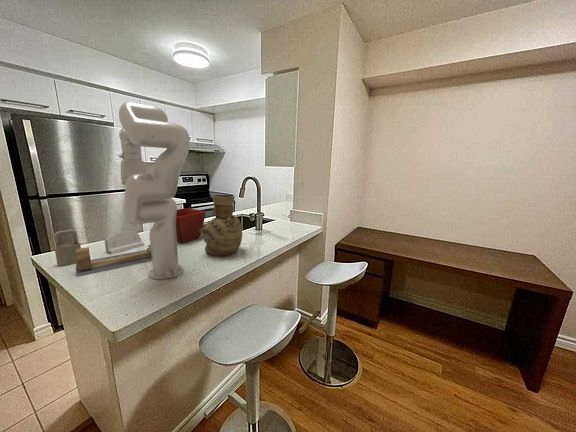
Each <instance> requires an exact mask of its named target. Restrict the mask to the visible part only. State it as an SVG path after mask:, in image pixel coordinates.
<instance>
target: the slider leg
mask: <svg viewBox="0 0 576 432" xmlns="http://www.w3.org/2000/svg"><path fill="white" fill-rule="evenodd" d="M76 254H77V260H78V266H79V271H81V270H86V269H91V268H92V265H91V260H92V259H91V252H90V247H87V246H86V247H81V248H80V249H76Z"/></svg>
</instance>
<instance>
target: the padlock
mask: <svg viewBox="0 0 576 432" xmlns="http://www.w3.org/2000/svg"><path fill="white" fill-rule="evenodd" d="M65 234H72V239H73V242H72V243H67V244H61V245H60V235H65ZM53 239H54V242H55V245H57V246H54V247H53V248H54V253H55V259H56V263H57V266H58V267H63V266H68V265H73V264H76V263H77V262H78V260H77V254H76V249H80V248H82V246H81V243H80V242H79V239H78V232H77V230H74V229H66V230H61V231H60V230H59V231H56V232H55V233H54V235H53Z"/></svg>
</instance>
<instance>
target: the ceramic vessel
mask: <svg viewBox="0 0 576 432" xmlns="http://www.w3.org/2000/svg"><path fill="white" fill-rule="evenodd" d="M234 200H235V195H233V194H213V195H212V202H213V205H214V207H213V211H212V216H214V218H212V219H211V220H209V221H208V222H207V223H206V225H205V226H203V227H202V228H200V229H199V232H200V237H199V238H200V239H204V242H205V246H204V247H205V248H204V251H205V253H206V254H208V255H210V256H214V257H218V258H224V257H225V258H226V257H230V256H234V255H235V254H236V253H238V251H239V249H240V247H241V244H242V240H243V227H242V223H241V220H240V219H239V218H238V217H236V216H235V215H234V214H233V213H234V209H235V208H234V205H233V204H234Z"/></svg>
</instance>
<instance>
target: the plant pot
mask: <svg viewBox="0 0 576 432" xmlns="http://www.w3.org/2000/svg"><path fill="white" fill-rule="evenodd" d="M205 218H206V210H200V209H194V208H193V209H192V208H188V207H186V208H185V207H184V208H179V209H178V208H177V214H176V238H177V244H178V243H179V244H184V242H185V243H187V242H190V241H191V242H192V241H194V240H198V239H199V238H200V232H199V229H200V228H202V227H204V224H205V220H206V219H205Z"/></svg>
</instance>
